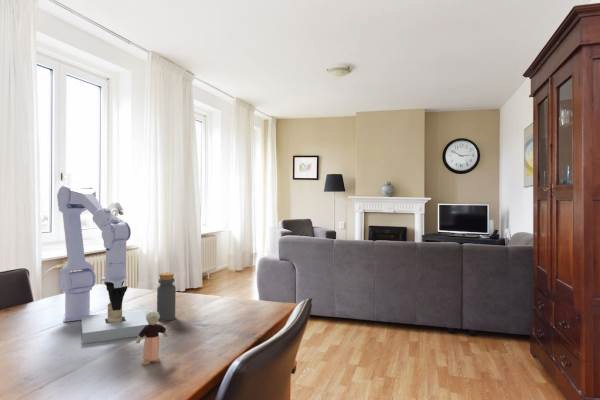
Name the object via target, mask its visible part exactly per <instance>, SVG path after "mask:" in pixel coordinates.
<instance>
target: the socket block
mask: <svg viewBox="0 0 600 400" xmlns="http://www.w3.org/2000/svg"><path fill="white" fill-rule="evenodd" d="M146 315H147V313H145V311H144V309H143V308H142V309H141V308H140V309H133V310H122V322H116V323H108V312H106V313H97V314H91V315H87V316H81V320H80V321H81V323H80V324H81V325H80V326H81V341H82V343H81V344H82V345H85V344H91V343H99V342H100V343H101V342H106V341H113V340H120V339H126V338H133V337H138V336H139V333H140V332H141V331H142V329H143V328H144V327H145V326H146V325H149V324H148V322H147V320H146Z"/></svg>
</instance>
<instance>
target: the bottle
mask: <svg viewBox="0 0 600 400" xmlns="http://www.w3.org/2000/svg"><path fill="white" fill-rule="evenodd" d="M174 275H175V273H173V272H161V273H159V274H158V276H159V279H158V283H159V284H160V285H158V286H157V289H156V292H157V295H156V296H157V297H156V312H158V313H159V315H160V318H159V319H158V321H161V322H167V321H168V322H169V321H172V320H174V319H176V296H177V295H176V285H174V283H175V278H174Z"/></svg>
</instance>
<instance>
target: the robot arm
mask: <svg viewBox="0 0 600 400" xmlns="http://www.w3.org/2000/svg"><path fill="white" fill-rule="evenodd" d="M96 193H97V192H96V190H95V189H94V188H93V187H92V185H88V186H83V185H82V186H81V185H79V186H78V185H77V186H76V185H75V186H74V185H62V186H60V187H59V189H58V192H57V194H56V198H57V207H58V212H60V213H62V219H63V230H64V239H65V248H66V257H67V258H66V259H67V263H66V264H65V265H64V266H62V267H61V268H60V269H59V278H58V286H59V289H60V290H61V291H62V292H63V293H64V294H65V295H64V298H65V299H64V303H65V304H64V313H63V322H64V323H66V322H67V323H68V322H75V321H76V322H77V321H81V316H87V315H92V314H91V308H90V307H91V304H90V301H91V298H90V297H91V291H93V287H94V286H95V284H96V282H97V274H96V273H95V269H94V265H93V264H91V263H90V262H88V261H86V257H85V249H84V248H85V247H84V241H83V240H84V238H83V233H82V232H83V231H82V221H81V215H82V213H84V212H86V211H88V212H89V213H90V214H91V215H92V221H93V223H94V224H95V225H96V226H97V227H98V229H99V230H100V231H101V238H102V240H103V241H102V242H103V247H104V248H105V272H104V273H105V276H101V277H100V280H101V281H104V282H103V283H104V284H105V287H106V288H105V289H106V290H107V293H108V299H109V303H111V305H112V309H113V311H115V310H120V309H121V306H122V307H123V300H124V297H125V294H126V292H127V290H128V286H126V285H125V286H123V285H124V282H125V280H127V241H128V240H130V238H131V235H132V233H131V232H132V231H131V227H130V225H129V224H128V222H125V221H121V220H119V219H118V218H117V217H116V216H115V214H114V213H112V211H111V209H109V208H104V207H103V206H102V205H101V203H100V202H99V201H98V199H97V196H96V195H97V194H96Z"/></svg>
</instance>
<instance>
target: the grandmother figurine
mask: <svg viewBox="0 0 600 400" xmlns="http://www.w3.org/2000/svg"><path fill="white" fill-rule="evenodd" d="M159 318H160V315H159V313H158V312H157V310H154V309H152V310H150V311H148V312H147V313H146V320H147V322H148V324H149V325H146V326H145V327H144V328H143V329H142V331H141V332H140V333H139V336H137V338H136V340H135V344H140V343H141V341H142V340H143V338H144V342H143V348H142V349H143V350H142V362H141V366H147V365H150V364H151V362H152V363H159V362H161V358H160V357H159V355H160V334H162V335H163V337H165V338H167V337H168V336H169V334H168V332H167V328H166V327H165V326H164V325H162V324H159V323H158V322H159V320H158V319H159ZM159 333H160V334H159Z"/></svg>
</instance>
